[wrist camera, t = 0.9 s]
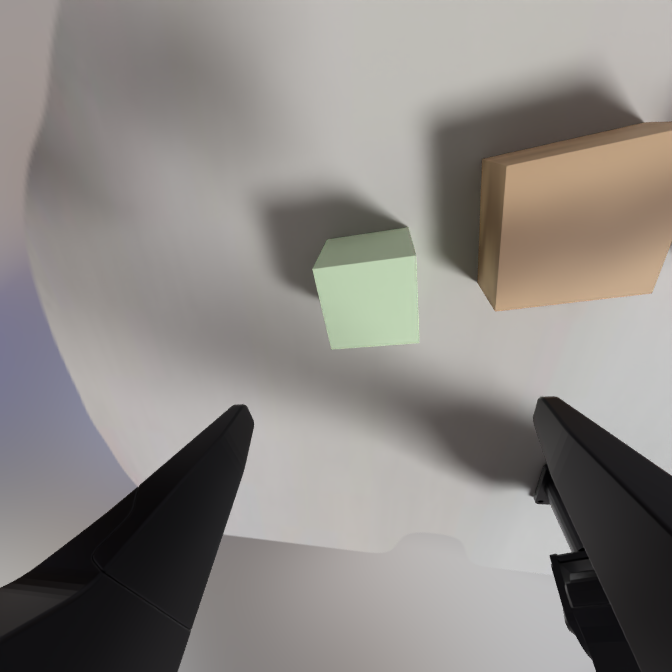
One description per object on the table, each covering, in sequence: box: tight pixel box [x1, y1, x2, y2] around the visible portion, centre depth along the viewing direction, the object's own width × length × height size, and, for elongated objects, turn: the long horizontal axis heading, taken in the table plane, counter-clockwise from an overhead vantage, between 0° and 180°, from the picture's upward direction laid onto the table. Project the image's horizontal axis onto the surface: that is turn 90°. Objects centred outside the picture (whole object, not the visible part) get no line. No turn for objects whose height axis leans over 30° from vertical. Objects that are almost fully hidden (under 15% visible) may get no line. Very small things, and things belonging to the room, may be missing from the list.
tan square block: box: [477, 122, 672, 311], centre depth 15 cm, size 7×7×4 cm
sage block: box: [312, 227, 419, 350], centre depth 18 cm, size 5×5×5 cm
